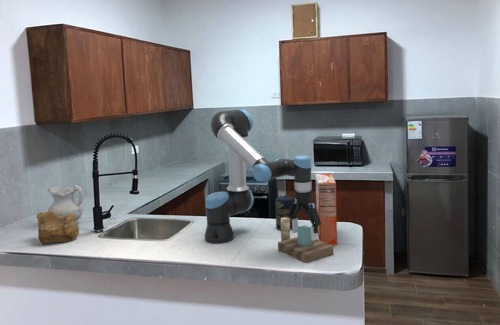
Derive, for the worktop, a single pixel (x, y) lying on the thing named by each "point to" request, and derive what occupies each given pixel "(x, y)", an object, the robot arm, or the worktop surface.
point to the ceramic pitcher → (66, 201)
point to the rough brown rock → (56, 227)
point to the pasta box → (326, 208)
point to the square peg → (304, 236)
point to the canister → (283, 209)
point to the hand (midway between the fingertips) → (304, 236)
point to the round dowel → (285, 229)
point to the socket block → (305, 249)
